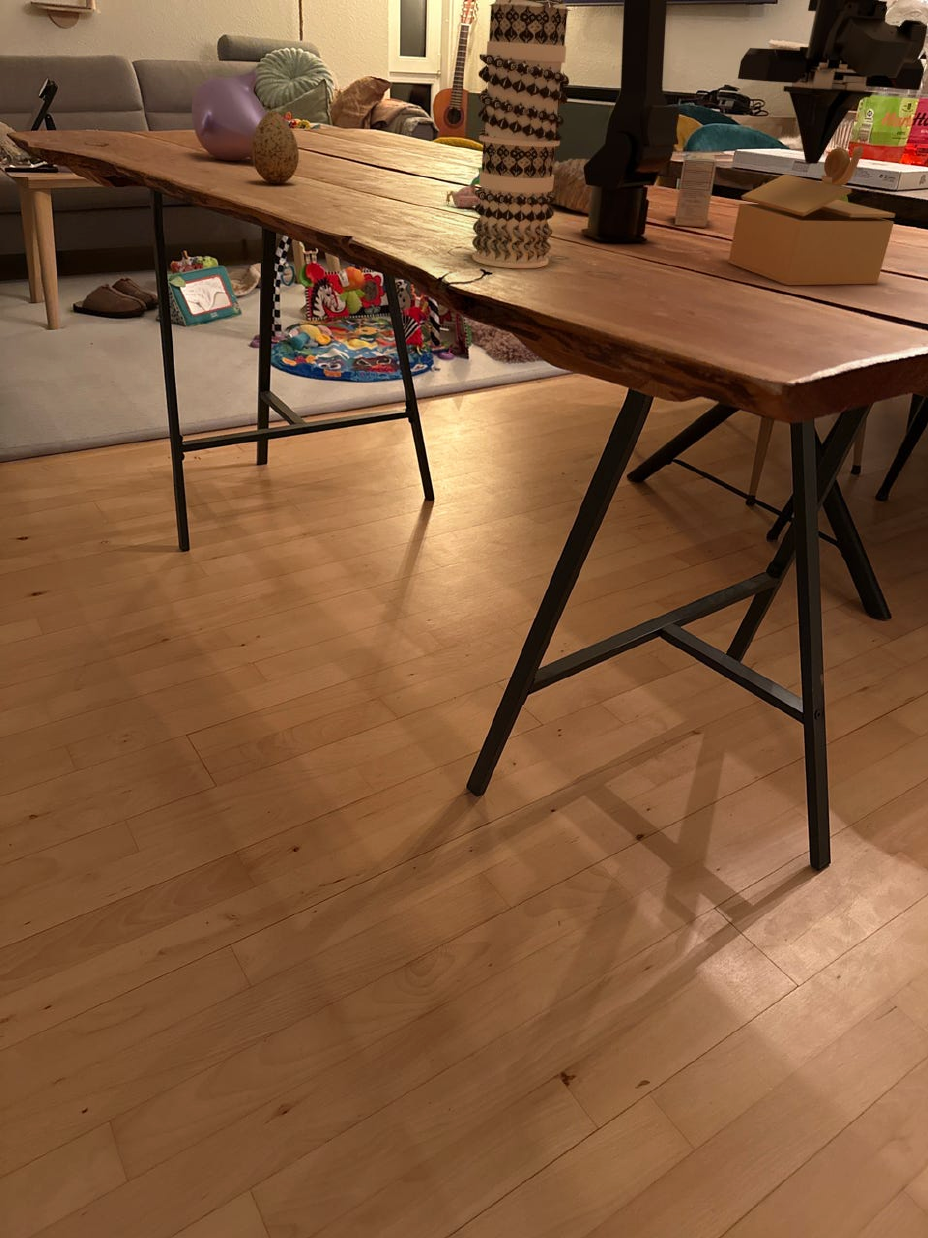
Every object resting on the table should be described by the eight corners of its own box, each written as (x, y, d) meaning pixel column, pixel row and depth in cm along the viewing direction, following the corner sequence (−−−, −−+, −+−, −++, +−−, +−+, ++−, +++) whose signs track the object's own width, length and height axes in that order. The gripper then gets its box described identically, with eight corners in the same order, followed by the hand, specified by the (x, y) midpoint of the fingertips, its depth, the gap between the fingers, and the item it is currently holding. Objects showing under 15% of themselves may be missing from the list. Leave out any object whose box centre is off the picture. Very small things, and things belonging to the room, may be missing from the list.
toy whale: (217, 155, 178) (243, 68, 172) (296, 196, 166) (327, 104, 160) (156, 129, 167) (182, 35, 161) (236, 170, 155) (267, 71, 149)
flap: (803, 216, 96) (803, 212, 96) (741, 199, 106) (741, 195, 105) (851, 192, 97) (851, 188, 96) (785, 177, 106) (785, 173, 106)
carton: (787, 285, 100) (803, 212, 96) (728, 262, 109) (740, 195, 105) (877, 283, 103) (896, 213, 99) (812, 261, 113) (827, 196, 109)
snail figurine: (829, 230, 135) (851, 137, 129) (796, 222, 140) (817, 132, 134) (855, 229, 138) (879, 138, 131) (823, 221, 142) (844, 133, 136)
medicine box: (705, 228, 130) (717, 159, 126) (673, 225, 131) (684, 157, 126) (704, 220, 137) (716, 154, 132) (674, 217, 138) (684, 152, 133)
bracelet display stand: (455, 252, 105) (468, -15, 92) (528, 251, 108) (550, -8, 95) (489, 269, 98) (508, -18, 85) (566, 267, 101) (595, -9, 88)
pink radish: (438, 215, 135) (512, 213, 125) (435, 170, 133) (511, 163, 123) (469, 213, 139) (544, 210, 129) (467, 168, 137) (543, 162, 126)
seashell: (648, 194, 136) (622, 128, 130) (606, 234, 134) (577, 168, 128) (584, 199, 147) (557, 139, 141) (544, 236, 145) (515, 176, 139)
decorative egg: (254, 186, 142) (249, 111, 136) (251, 179, 148) (247, 108, 142) (301, 187, 143) (299, 113, 138) (297, 181, 149) (295, 110, 144)
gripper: (822, -24, 82) (781, 170, 91) (987, -8, 88) (934, 174, 96) (751, -19, 91) (720, 157, 100) (906, -5, 97) (864, 161, 105)
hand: (811, 163), depth 100 cm, fingers closed
